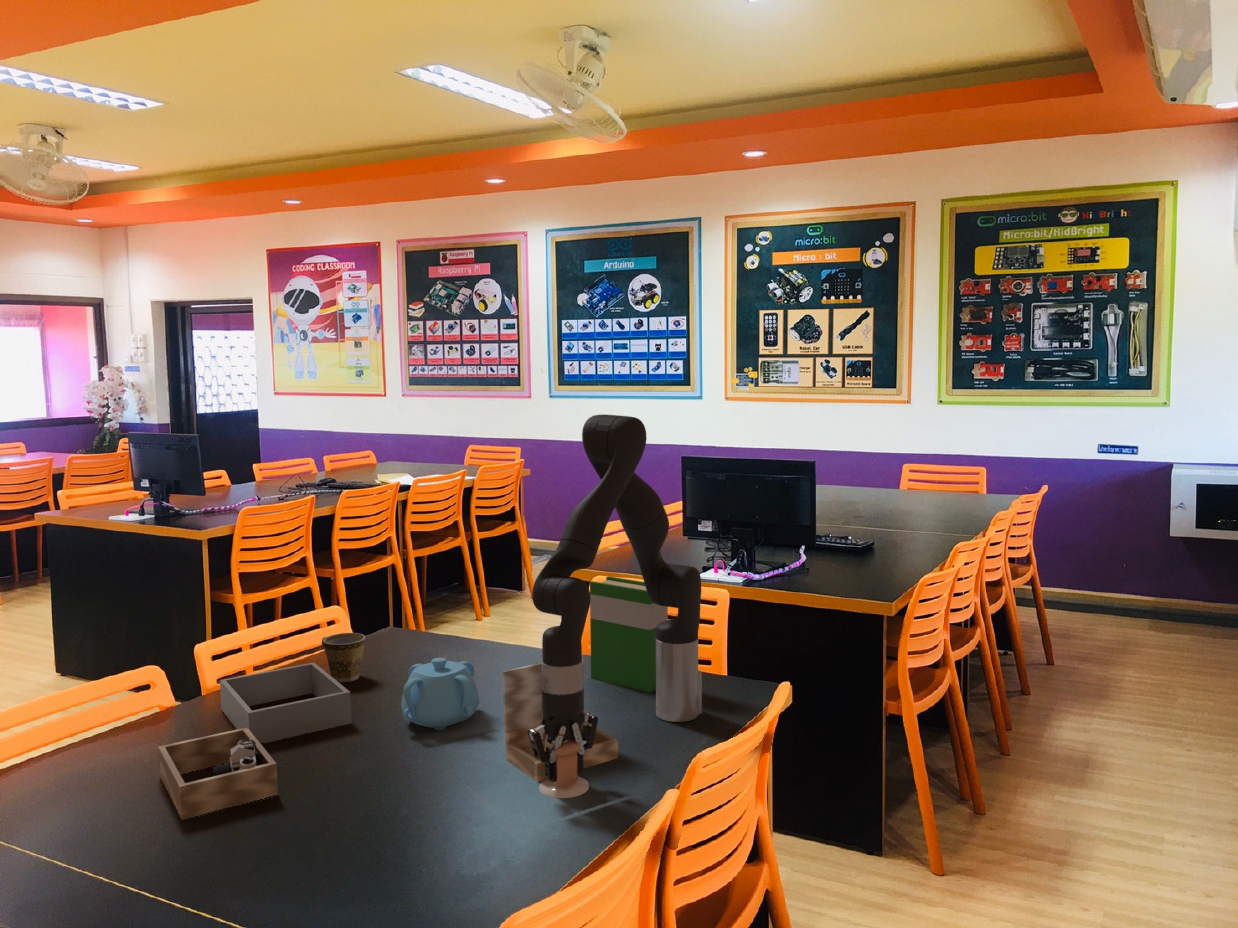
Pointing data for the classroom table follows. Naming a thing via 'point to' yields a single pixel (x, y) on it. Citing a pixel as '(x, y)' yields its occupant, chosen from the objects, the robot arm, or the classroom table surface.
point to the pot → (566, 763)
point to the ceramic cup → (344, 655)
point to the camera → (239, 758)
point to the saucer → (564, 789)
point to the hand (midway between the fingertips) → (564, 776)
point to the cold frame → (538, 723)
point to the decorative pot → (440, 693)
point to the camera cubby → (217, 788)
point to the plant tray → (289, 717)
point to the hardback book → (624, 633)
